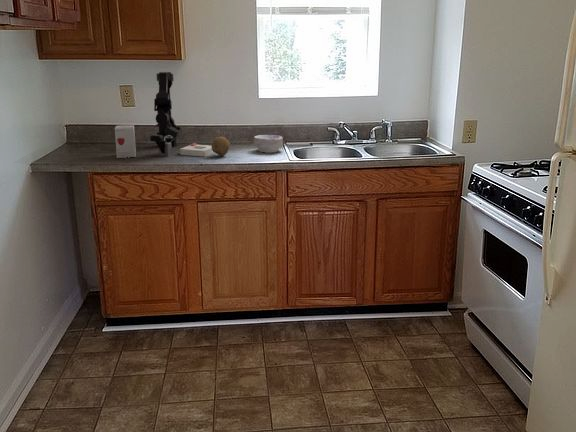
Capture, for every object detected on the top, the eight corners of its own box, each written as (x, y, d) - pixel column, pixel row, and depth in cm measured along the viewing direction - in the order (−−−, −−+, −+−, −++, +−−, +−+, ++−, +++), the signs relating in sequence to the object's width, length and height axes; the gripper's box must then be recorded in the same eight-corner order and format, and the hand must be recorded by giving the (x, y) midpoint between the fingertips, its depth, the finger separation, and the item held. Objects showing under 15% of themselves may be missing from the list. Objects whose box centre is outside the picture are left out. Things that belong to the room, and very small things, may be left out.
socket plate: (180, 154, 283) (179, 147, 282) (192, 149, 295) (192, 142, 294) (204, 156, 279) (204, 149, 278) (216, 151, 291) (216, 144, 290)
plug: (159, 155, 280) (158, 143, 278) (163, 154, 284) (162, 141, 282) (168, 156, 278) (167, 143, 276) (172, 154, 282) (171, 142, 280)
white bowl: (284, 149, 300) (284, 134, 298) (281, 154, 286) (281, 139, 284) (256, 148, 302) (256, 133, 299) (251, 153, 287) (251, 138, 285)
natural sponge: (214, 158, 275) (213, 138, 272) (209, 155, 283) (209, 135, 280) (231, 157, 278) (231, 137, 275) (227, 154, 286) (226, 134, 283)
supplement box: (116, 158, 273) (113, 127, 268) (118, 154, 281) (115, 125, 277) (135, 157, 275) (133, 127, 270) (136, 154, 283) (134, 124, 278)
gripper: (168, 125, 265) (170, 157, 270) (187, 120, 282) (188, 150, 287) (148, 124, 268) (150, 155, 273) (167, 119, 285) (169, 149, 290)
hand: (165, 152), depth 281 cm, fingers closed on plug, 4 cm apart
